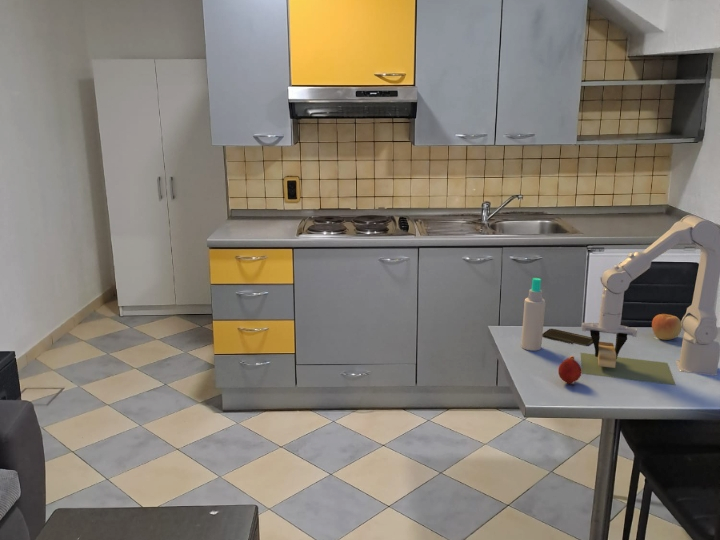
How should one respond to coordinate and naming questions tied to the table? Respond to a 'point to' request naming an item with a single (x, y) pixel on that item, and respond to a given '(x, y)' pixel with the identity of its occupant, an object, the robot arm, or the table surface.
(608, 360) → the wooden cubby box
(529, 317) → the spray bottle
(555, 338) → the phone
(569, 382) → the onion
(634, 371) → the rubber mat
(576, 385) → the table surface
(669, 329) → the apple
